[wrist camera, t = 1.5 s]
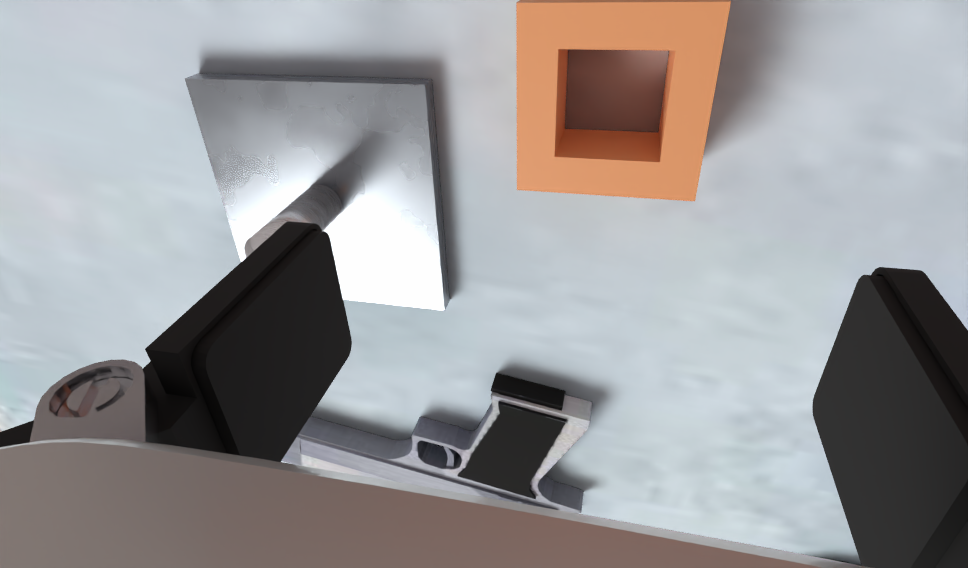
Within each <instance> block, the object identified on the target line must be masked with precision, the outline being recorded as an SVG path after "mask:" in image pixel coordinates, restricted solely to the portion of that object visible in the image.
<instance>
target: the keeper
mask: <svg viewBox="0 0 968 568" xmlns="http://www.w3.org/2000/svg"><path fill="white" fill-rule="evenodd" d="M185 81H186V84H187V87H188V91H189V94H190V97H191V100H192V104H193V107H194V110H195V113H196V117H197V120H198V123H199V126H200V130H201V133H202V136H203V140H204V143H205V146H206V149H207V153H208V156H209V159H210V162H211V166H212V169H213V172H214V175H215V179H216V182H217V185H218V188H219V192H220V195H221V198H222V201H223V205H224V208H225V211H226V214H227V218H228V221H229V224H230V227H231V231H232V234H233V237H234V240H235V244H236V247H237V250H238V254H239V257H240V260H241V262H242V261H243V260H244V259H245V258H247V257H248V256H249V255H250V254H251V253H252V252H253V251H254V250H255V249H257V248H258V247H259V246H260V245H261V244H262V243H263V242H264V241H265V240H267V239H268V238H269V237H270V236H271V235H272V234H273V233H274V232H275V231H277V230H278V229H279V228H280V227H281V226H282V225H283V224H284V223H286V222H304V223H316V224H318V225H319V226H320V228H321V229H322V231H325V232H327V233H328V235H329V237H330V240H331V245H332V250H333V254H334V259H335V264H336V269H337V273H338V278H339V283H340V288H341V292H342V297H343V299H344V300H353V301H362V302H371V303H380V304H389V305H398V306H407V307H416V308H425V309H434V310H443V311H445V309H446V307H447V305H448V303H449V301H450V299H449V286H448V274H447V262H446V249H445V237H444V224H443V212H442V200H441V187H440V175H439V162H438V150H437V138H436V125H435V113H434V100H433V88H432V79H407V78H364V77H322V76H280V75H237V74H196V75H193V76H190V77H188V78H185Z"/></svg>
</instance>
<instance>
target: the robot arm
mask: <svg viewBox="0 0 968 568" xmlns="http://www.w3.org/2000/svg"><path fill="white" fill-rule="evenodd" d="M351 344H352V341H351V335H350V330H349V326H348V321H347V316H346V311H345V307H344V302H343V297H342V292H341V288H340V283H339V278H338V273H337V269H336V264H335V259H334V254H333V250H332V245H331V240H330V237H329V235H328V233H327V232H325V231H322V229H321V228H320V226H319V225H318V224H316V223H304V222H286V223H284V224H283V225H282V226H281V227H280V228H279V229H278V230H277V231H275V232H274V233H273V234H272V235H271V236H270V237H269V238H268V239H267V240H265V241H264V242H263V243H262V244H261V245H260V246H259V247H258V248H257V249H255V250H254V251H253V252H252V253H251V254H250V255H249V256H248V257H247V258H245V259H244V260H243V261H242V262H241V263H240V264H239V265H238V266H237V267H236V268H234V269H233V270H232V271H231V272H230V273H229V274H228V275H227V276H226V277H224V278H223V279H222V280H221V281H220V282H219V283H218V284H217V285H216V286H214V287H213V288H212V289H211V290H210V291H209V292H208V293H207V294H206V295H204V296H203V297H202V298H201V299H200V300H199V301H198V302H197V303H196V304H195V305H193V306H192V307H191V308H190V309H189V310H188V311H187V312H186V313H185V314H183V315H182V316H181V317H180V318H179V319H178V320H177V321H176V322H175V323H173V324H172V325H171V326H170V327H169V328H168V329H167V330H166V331H165V332H163V333H162V334H161V335H160V336H159V337H158V338H157V339H156V340H155V341H154V342H152V343H151V344H150V345H149V346H148V347H147V348H146V349H145V350H146V352H147V354H148V356H149V358H150V360H151V362H150V363H149V364H148V365H146V366H145V367H144V368H143V369H142V367H141V366H139V365H138V364H137V363H135V362H132V361H128V360H108V361H103V362H98V363H94V364H91V365H89V366H86V367H83V368H81V369H78V370H76V371H74V372H72V373H71V374H69V375H67V376H65V377H63V378H62V379H61V380H59V381H58V382H57V383H55V384H54V385H53V386H51V387H50V388H49V389H48V391H47V392H46V393H45V394H44V395H43V396H42V397H41V399H40V401H39V404H38V406H37V409H36V414H35V418H34V420H33V421H31V422H28V423H25V424H22V425H19V426H16V427H14V428H11V429H8V430H5V431H2V432H0V568H968V330H967V329H966V328H965V326H964V325H963V324H962V322H961V321H960V320H959V318H958V317H957V316H956V314H955V313H954V312H953V310H952V309H951V308H950V306H949V305H948V304H947V302H946V301H945V300H944V298H943V297H942V296H941V294H940V293H939V292H938V290H937V289H936V288H935V286H934V285H933V283H932V282H931V281H930V279H929V278H928V277H927V275H926V274H925V273H924V272H922V271H920V270H910V269H897V268H884V267H879V268H877V269H875V271H874V272H873V273H872V275H863V276H861V278H860V279H859V280H858V282H857V285H856V287H855V290H854V292H853V295H852V298H851V300H850V303H849V306H848V308H847V311H846V313H845V316H844V319H843V321H842V324H841V327H840V329H839V332H838V335H837V337H836V340H835V342H834V345H833V348H832V350H831V353H830V356H829V358H828V361H827V363H826V366H825V369H824V371H823V374H822V377H821V379H820V382H819V385H818V387H817V390H816V392H815V395H814V399H813V416H814V420H815V423H816V426H817V429H818V432H819V435H820V438H821V442H822V445H823V448H824V451H825V454H826V457H827V460H828V463H829V466H830V469H831V472H832V475H833V478H834V481H835V485H836V488H837V491H838V494H839V497H840V500H841V503H842V506H843V509H844V512H845V515H846V518H847V521H848V524H849V528H850V531H851V534H852V537H853V540H854V543H855V546H856V549H857V552H858V555H859V558H860V561H861V564H862V566H860V565H855V564H850V563H845V562H839V561H834V560H829V559H824V558H819V557H814V556H809V555H804V554H799V553H793V552H788V551H783V550H777V549H772V548H766V547H761V546H755V545H750V544H744V543H738V542H733V541H727V540H722V539H716V538H711V537H705V536H700V535H694V534H689V533H683V532H678V531H672V530H666V529H661V528H655V527H650V526H644V525H639V524H633V523H628V522H622V521H617V520H611V519H606V518H600V517H594V516H589V515H583V514H577V513H572V512H566V511H560V510H555V509H549V508H543V507H538V506H532V505H526V504H520V503H515V502H509V501H503V500H498V499H492V498H486V497H481V496H475V495H469V494H463V493H458V492H452V491H446V490H440V489H435V488H429V487H423V486H417V485H412V484H406V483H400V482H394V481H388V480H382V479H377V478H371V477H365V476H359V475H353V474H347V473H341V472H335V471H329V470H323V469H318V468H312V467H306V466H300V465H294V464H288V463H282V462H281V461H282V459H283V457H284V456H285V454H286V453H287V451H288V450H289V448H290V447H291V445H292V444H293V442H294V440H295V439H296V437H297V436H298V434H299V433H300V431H301V430H302V428H303V426H304V425H305V423H306V422H307V420H308V419H309V417H310V416H311V414H312V413H313V411H314V409H315V408H316V406H317V405H318V403H319V402H320V400H321V399H322V397H323V396H324V394H325V392H326V391H327V389H328V388H329V386H330V385H331V383H332V382H333V380H334V378H335V377H336V375H337V374H338V372H339V371H340V369H341V368H342V366H343V365H344V363H345V361H346V360H347V358H348V356H349V354H350V351H351Z"/></svg>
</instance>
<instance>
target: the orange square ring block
mask: <svg viewBox="0 0 968 568" xmlns="http://www.w3.org/2000/svg"><path fill="white" fill-rule="evenodd" d="M730 4H731V1H730V0H520V1H518V2H517V190H527V191H543V192H558V193H574V194H590V195H605V196H621V197H636V198H652V199H668V200H683V201H695V198H696V192H697V187H698V181H699V176H700V170H701V165H702V159H703V154H704V148H705V143H706V137H707V132H708V126H709V120H710V115H711V109H712V104H713V98H714V93H715V87H716V82H717V76H718V71H719V65H720V60H721V54H722V49H723V43H724V38H725V32H726V27H727V21H728V16H729V10H730ZM568 49H585V50H669V57H668V64H667V71H666V79H665V86H664V94H663V101H662V109H661V116H660V124H659V131H658V132H634V131H610V130H585V129H565V112H566V88H567V65H568Z"/></svg>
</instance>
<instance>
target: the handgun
mask: <svg viewBox="0 0 968 568" xmlns="http://www.w3.org/2000/svg"><path fill="white" fill-rule="evenodd" d="M491 391H492V394H491V399H492V403H491V405H490V407H489V409H488V410H487V412H486V414H485V416H484V417H483V419H482V421H481V423H480V424H479V426H478V428H477V429H476V430H474V431H468V430H464V429H462V428H461V427H458V426H454V425H451V424H447V423H443V422H440V421H436V420H432V419H429V418H425V417H420V418H419V420H418V422H417V424H416V427H415V429H414V431H413V434H412V438H410V439H406V440H393V439H389V438H386V437H382V436H378V435H375V434H371V433H368V432H364V431H361V430H357V429H354V428H350V427H346V426H343V425H339V424H336V423H332V422H329V421H325V420H321V419H318V418H314V417H311V416H310V417H309V419H308V420H307V422H306V423H305V425H304V426H303V428H302V430H301V431H300V433H299V434H298V436H297V437H296V439H295V440H294V442H293V444H292V445H291V447H290V448H289V450H288V451H287V453H286V454H285V456H284V457H283V459H282V461H284V462H287V463H291V464H294V465H300V466H306V467H312V468H318V469H323V470H329V471H335V472H341V473H347V474H353V475H359V476H365V477H371V478H377V479H382V480H388V481H394V482H400V483H406V484H412V485H417V486H423V487H429V488H435V489H440V490H446V491H452V492H458V493H463V494H469V495H475V496H481V497H486V498H492V499H498V500H503V501H509V502H515V503H520V504H526V505H532V506H538V507H543V508H549V509H555V510H560V511H566V512H572V513H581V510H582V500H583V491H582V490H581V489H578V488H574V487H571V486H568V485H565V484H562V483H558V482H555V481H553V480H552V479H550V478H549V477H548V476H546V475H545V474H546V473H547V472H548V471H549V470H550V469H551V468H552V467H553V466H554V464H555V463H556V462H557V461H558V460H559V459H560V458H561V457H562V456H563V455H564V454H565V453H566V452H567V451H568V450H569V449H570V448H571V447H572V446H573V445H574V444H575V443H576V442H577V441H578V439H579V438H580V437H581V436H582V435H583V434H584V433H585V432H586V431H587V429H588V426H589V423H590V417H591V408H592V402H590V401H586V400H583V399H579V398H575V397H571V396H567V395H565V391H564V390H560V389H556V388H552V387H549V386H545V385H541V384H537V383H533V382H529V381H525V380H522V379H518V378H514V377H510V376H506V375H502V374H498V373H496V375H495V379H494V382H493V385H492V388H491ZM431 443H433V444H437V445H441V446H444V448H442V447H439V446H436V445H433V444H431Z"/></svg>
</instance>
